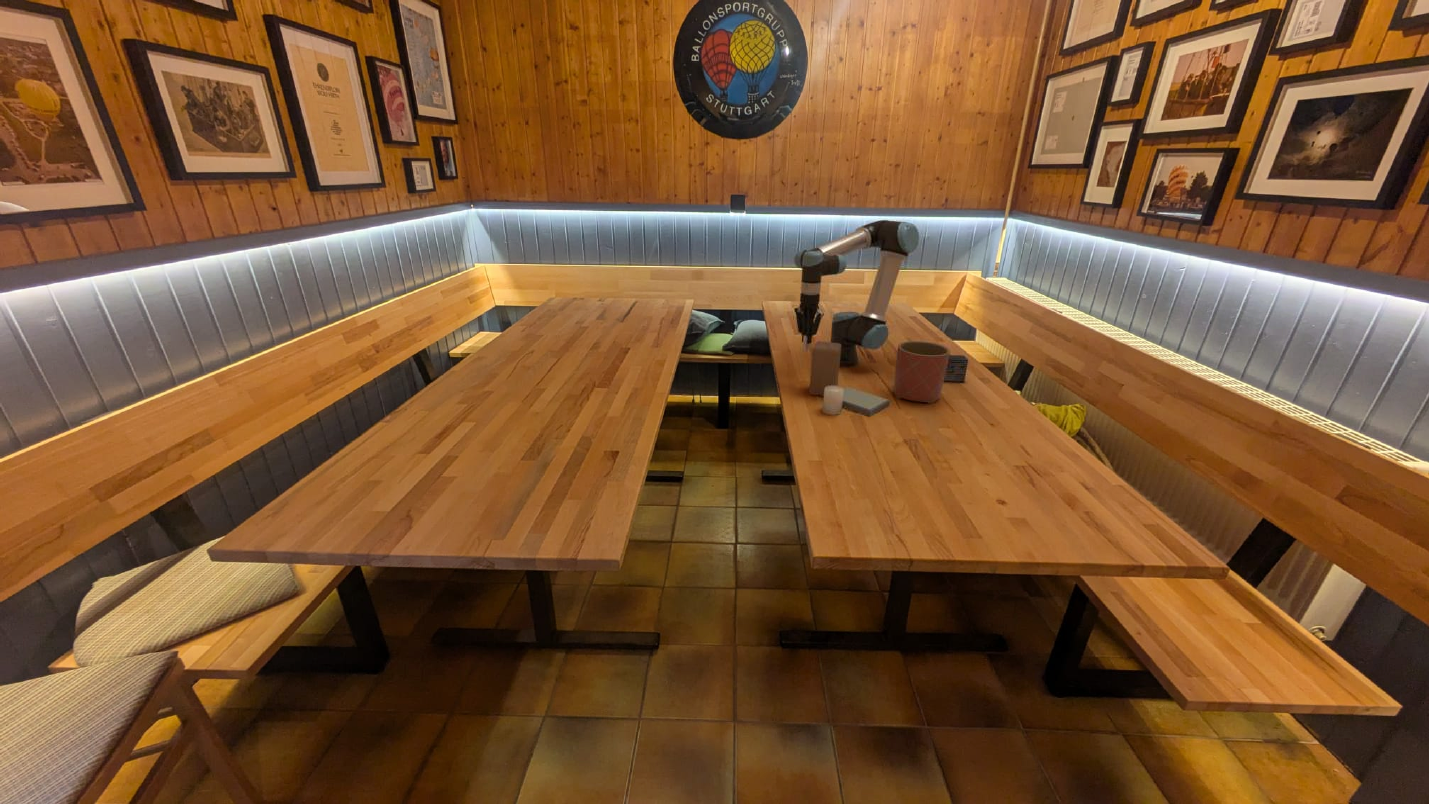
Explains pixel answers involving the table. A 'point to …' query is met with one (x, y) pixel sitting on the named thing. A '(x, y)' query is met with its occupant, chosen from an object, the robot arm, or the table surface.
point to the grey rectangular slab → (863, 402)
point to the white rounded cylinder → (833, 399)
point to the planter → (920, 370)
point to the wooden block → (824, 366)
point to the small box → (956, 369)
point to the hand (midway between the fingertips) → (805, 350)
